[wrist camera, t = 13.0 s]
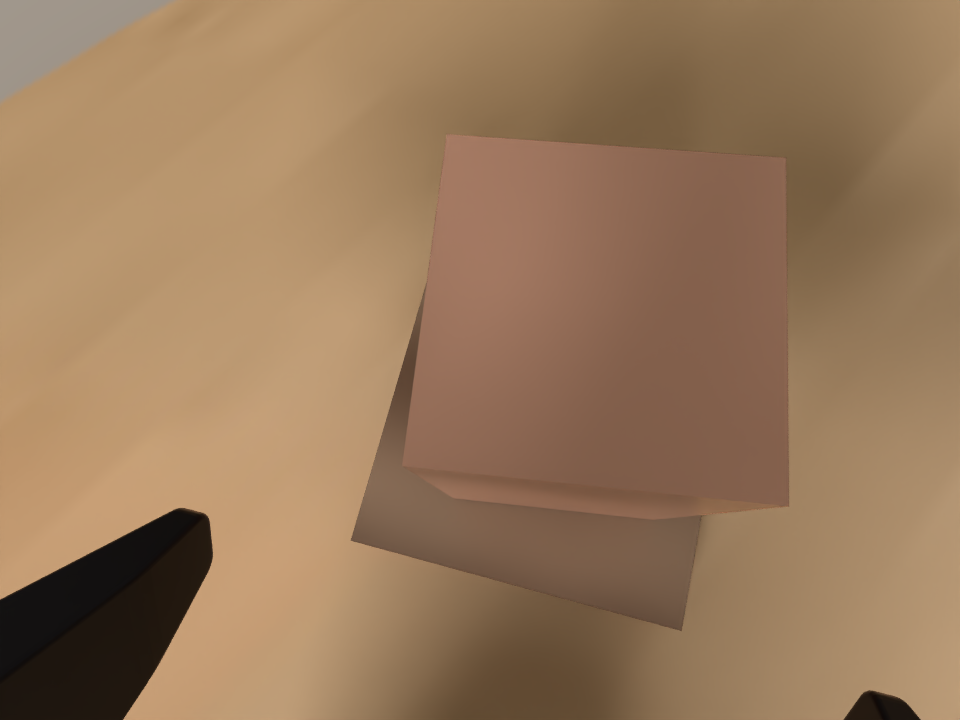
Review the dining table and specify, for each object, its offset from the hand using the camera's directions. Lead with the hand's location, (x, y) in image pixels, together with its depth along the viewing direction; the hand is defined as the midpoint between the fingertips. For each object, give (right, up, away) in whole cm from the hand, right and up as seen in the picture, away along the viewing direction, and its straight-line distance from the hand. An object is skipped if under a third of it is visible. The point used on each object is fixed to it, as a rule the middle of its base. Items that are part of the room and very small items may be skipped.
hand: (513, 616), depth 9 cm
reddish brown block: (+2, +2, +12) cm, 12 cm away
